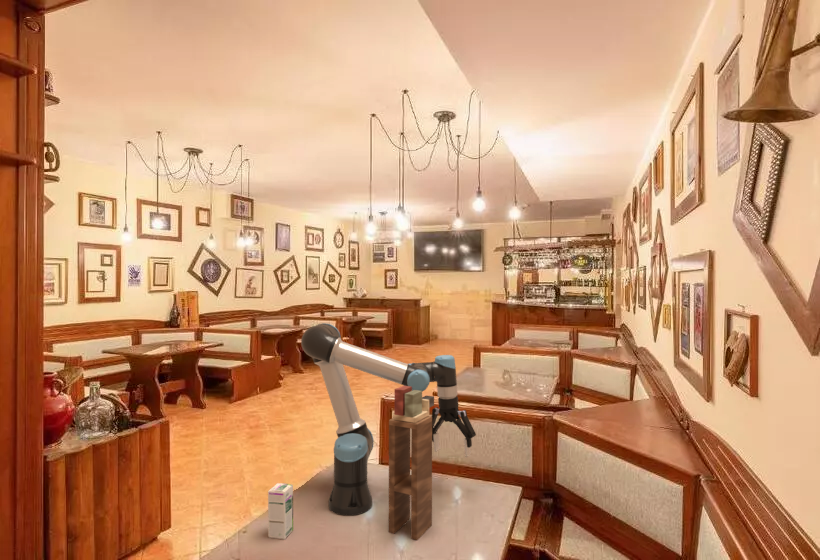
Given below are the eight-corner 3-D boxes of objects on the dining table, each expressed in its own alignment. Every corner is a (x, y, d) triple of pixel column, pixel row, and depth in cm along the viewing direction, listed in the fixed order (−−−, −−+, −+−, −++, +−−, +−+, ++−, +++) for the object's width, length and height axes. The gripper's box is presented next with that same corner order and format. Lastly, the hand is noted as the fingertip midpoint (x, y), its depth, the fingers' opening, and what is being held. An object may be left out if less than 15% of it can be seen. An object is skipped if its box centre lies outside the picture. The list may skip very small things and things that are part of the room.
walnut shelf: (388, 532, 147) (389, 420, 148) (404, 518, 156) (405, 412, 157) (416, 540, 143) (417, 424, 143) (431, 525, 152) (432, 416, 152)
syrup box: (285, 539, 143) (285, 491, 143) (267, 537, 144) (267, 489, 144) (293, 530, 148) (293, 484, 149) (276, 528, 149) (276, 482, 150)
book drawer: (392, 419, 148) (392, 389, 148) (419, 406, 165) (419, 378, 165) (415, 422, 144) (415, 391, 144) (440, 409, 161) (440, 381, 161)
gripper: (481, 396, 173) (486, 454, 173) (426, 392, 188) (430, 445, 188) (472, 401, 167) (476, 461, 167) (415, 396, 182) (419, 451, 182)
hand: (452, 453), depth 177 cm, fingers open, 13 cm apart
